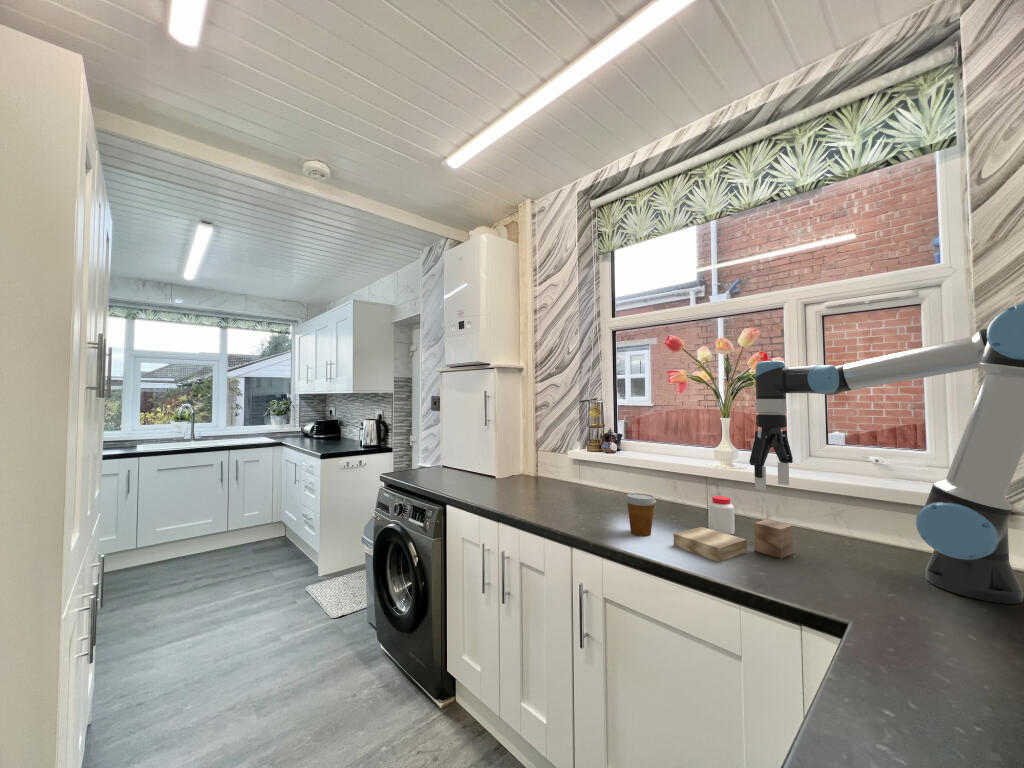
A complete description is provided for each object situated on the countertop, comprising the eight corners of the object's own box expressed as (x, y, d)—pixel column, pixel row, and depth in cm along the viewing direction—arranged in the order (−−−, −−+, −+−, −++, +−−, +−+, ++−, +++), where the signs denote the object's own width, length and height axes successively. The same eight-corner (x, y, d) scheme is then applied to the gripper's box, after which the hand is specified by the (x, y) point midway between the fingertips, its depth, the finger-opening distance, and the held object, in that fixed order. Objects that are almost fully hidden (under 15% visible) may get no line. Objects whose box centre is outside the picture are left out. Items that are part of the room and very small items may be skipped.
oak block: (746, 553, 117) (746, 539, 117) (719, 563, 109) (719, 548, 110) (701, 539, 129) (701, 526, 129) (673, 547, 121) (673, 533, 121)
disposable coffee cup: (652, 529, 137) (652, 493, 138) (659, 538, 127) (659, 500, 128) (623, 528, 138) (623, 492, 138) (628, 537, 128) (628, 498, 129)
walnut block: (793, 553, 116) (792, 525, 117) (781, 558, 113) (780, 529, 113) (766, 546, 122) (766, 519, 123) (754, 550, 118) (754, 522, 119)
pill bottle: (732, 536, 131) (732, 501, 132) (706, 531, 136) (706, 497, 136) (736, 530, 137) (735, 497, 138) (711, 525, 142) (711, 494, 143)
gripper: (777, 413, 129) (779, 480, 128) (734, 413, 116) (736, 488, 115) (804, 414, 123) (806, 485, 122) (762, 414, 110) (764, 493, 109)
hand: (772, 487), depth 118 cm, fingers open, 13 cm apart
